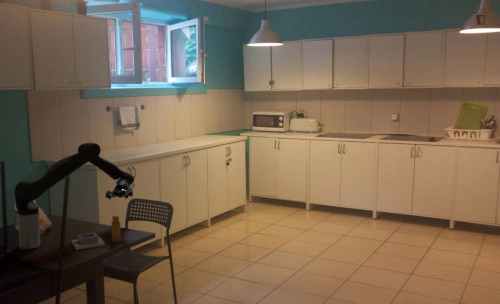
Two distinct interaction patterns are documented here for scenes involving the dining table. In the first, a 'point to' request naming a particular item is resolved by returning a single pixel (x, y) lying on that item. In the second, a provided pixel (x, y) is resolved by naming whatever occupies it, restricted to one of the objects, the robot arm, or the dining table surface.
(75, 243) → the hollow square frame plate
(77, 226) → the dining table surface
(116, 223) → the stepped amber cylinder
